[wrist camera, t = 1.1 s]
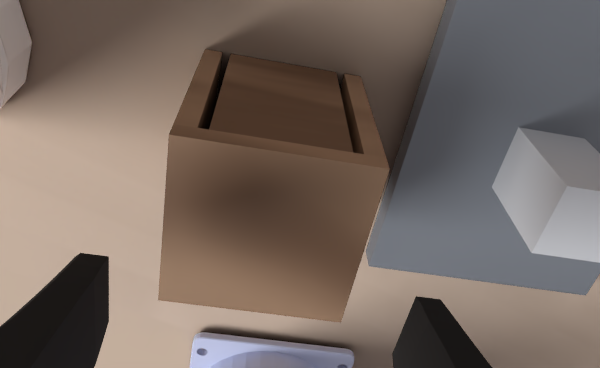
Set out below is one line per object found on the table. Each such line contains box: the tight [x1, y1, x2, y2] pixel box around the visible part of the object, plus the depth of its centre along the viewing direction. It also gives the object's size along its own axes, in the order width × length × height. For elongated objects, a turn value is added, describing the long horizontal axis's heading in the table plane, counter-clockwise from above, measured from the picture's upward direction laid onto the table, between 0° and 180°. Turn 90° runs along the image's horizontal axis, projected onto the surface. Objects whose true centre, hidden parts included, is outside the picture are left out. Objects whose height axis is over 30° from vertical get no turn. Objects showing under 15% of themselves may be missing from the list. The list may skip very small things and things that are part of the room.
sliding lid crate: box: [158, 49, 390, 322], centre depth 18 cm, size 6×6×7 cm
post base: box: [366, 0, 600, 295], centre depth 19 cm, size 12×10×5 cm
